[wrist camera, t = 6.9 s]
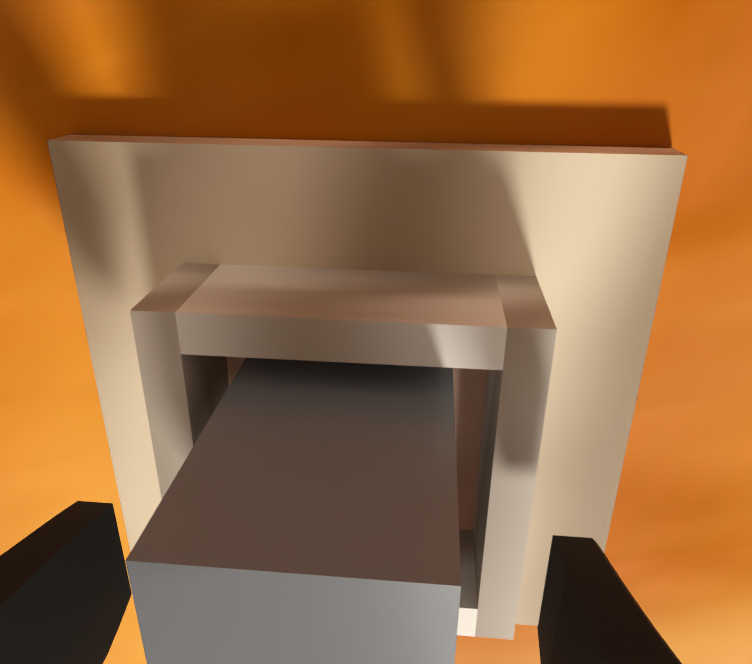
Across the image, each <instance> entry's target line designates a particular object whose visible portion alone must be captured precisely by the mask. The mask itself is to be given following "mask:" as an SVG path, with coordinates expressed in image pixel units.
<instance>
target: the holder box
mask: <svg viewBox="0 0 752 664" xmlns="http://www.w3.org/2000/svg"><path fill="white" fill-rule="evenodd" d="M47 142H48V147H49V152H50V157H51V162H52V167H53V172H54V177H55V182H56V187H57V192H58V197H59V202H60V207H61V211H62V216H63V221H64V226H65V231H66V236H67V241H68V246H69V251H70V256H71V261H72V266H73V271H74V275H75V280H76V285H77V290H78V295H79V300H80V305H81V310H82V315H83V320H84V325H85V330H86V335H87V340H88V344H89V349H90V354H91V359H92V364H93V369H94V374H95V379H96V384H97V389H98V394H99V399H100V404H101V409H102V413H103V418H104V423H105V428H106V433H107V438H108V443H109V448H110V453H111V458H112V463H113V468H114V473H115V477H116V482H117V487H118V492H119V497H120V502H121V507H122V512H123V517H124V522H125V527H126V532H127V537H128V542H129V546H130V551H132V549H133V547H134V546H135V544H136V542H137V541H138V539H139V537H140V535H141V534H142V532H143V530H144V529H145V527H146V525H147V524H148V522H149V520H150V519H151V517H152V515H153V514H154V512H155V510H156V508H157V507H158V505H159V503H160V502H161V500H162V498H163V497H164V495H165V493H166V492H167V490H168V488H169V487H170V485H171V483H172V482H173V480H174V478H175V476H176V475H177V473H178V471H179V470H180V468H181V466H182V465H183V463H184V461H185V460H186V458H187V456H188V455H189V453H190V451H191V449H192V448H193V446H194V444H195V443H196V441H197V439H198V438H199V436H200V434H201V433H202V431H203V429H204V428H205V426H206V424H207V422H208V421H209V419H210V417H211V416H212V414H213V412H214V411H215V409H216V407H217V406H218V404H219V402H220V401H221V399H222V397H223V396H224V394H225V392H226V390H227V389H228V387H229V385H230V384H231V382H232V380H233V379H234V377H235V375H236V374H237V372H238V370H239V369H240V367H241V365H242V363H243V362H244V360H245V358H266V359H286V360H306V361H326V362H346V363H366V364H386V365H406V366H426V367H446V368H453V383H454V409H455V436H456V463H457V490H458V516H459V543H460V570H461V593H460V605H459V616H458V627H457V635H463V636H475V637H487V638H499V639H511V640H513V637H514V630H515V624H522V625H534V626H538V622H539V616H540V610H541V604H542V598H543V591H544V585H545V579H546V573H547V567H548V561H549V555H550V549H551V542H552V536H553V535H558V536H572V537H586V538H593V539H594V540H595V541H596V542H597V544H598V545H599V546H600V548H601V549H602V551H603V553H604V552H605V547H606V542H607V537H608V533H609V528H610V523H611V518H612V514H613V509H614V504H615V499H616V495H617V490H618V485H619V480H620V476H621V471H622V466H623V461H624V456H625V452H626V447H627V442H628V437H629V433H630V428H631V423H632V418H633V414H634V409H635V404H636V399H637V395H638V390H639V385H640V380H641V376H642V371H643V366H644V361H645V357H646V352H647V347H648V342H649V338H650V333H651V328H652V323H653V318H654V314H655V309H656V304H657V299H658V295H659V290H660V285H661V280H662V276H663V271H664V266H665V261H666V257H667V252H668V247H669V242H670V238H671V233H672V228H673V223H674V219H675V214H676V209H677V204H678V199H679V195H680V190H681V185H682V180H683V176H684V171H685V166H686V161H687V157H688V155H686V154H684V153H682V152H680V151H678V150H676V149H674V148H643V147H600V146H556V145H512V144H468V143H424V142H381V141H337V140H293V139H249V138H205V137H162V136H118V135H74V134H68V135H65V136H61V137H57V138H54V139H50V140H47Z"/></svg>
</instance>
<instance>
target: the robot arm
mask: <svg viewBox="0 0 752 664" xmlns="http://www.w3.org/2000/svg"><path fill="white" fill-rule="evenodd" d="M131 594H132V593H131V589H130V584H129V579H128V575H127V570H126V565H125V560H124V556H123V551H122V546H121V541H120V537H119V532H118V527H117V522H116V518H115V513H114V508H113V504H112V503H98V502H84V501H77V502H76V503H74V504H72V505H71V506H69V507H68V508H66V509H65V510H63V511H62V512H61V513H59V514H58V515H56V516H55V517H53V518H52V519H51V520H49V521H48V522H46V523H45V524H44V525H42V526H41V527H39V528H38V529H37V530H35V531H34V532H33V533H31V534H30V535H28V536H27V537H26V538H24V539H23V540H21V541H20V542H19V543H17V544H16V545H15V546H13V547H12V548H10V549H9V550H8V551H6V552H5V553H4V554H2V555H1V556H0V664H103V662H104V660H105V658H106V656H107V654H108V652H109V649H110V647H111V645H112V642H113V640H114V637H115V635H116V633H117V630H118V628H119V625H120V623H121V620H122V617H123V615H124V612H125V610H126V607H127V604H128V602H129V599H130V597H131ZM538 637H539V648H540V659H541V664H682V663H681V662H680V661H679V659H678V658H677V657H676V655H675V654H674V653H673V651H672V650H671V649H670V647H669V646H668V645H667V643H666V642H665V641H664V639H663V638H662V637H661V635H660V634H659V633H658V631H657V630H656V629H655V627H654V626H653V624H652V623H651V622H650V620H649V619H648V618H647V616H646V615H645V613H644V612H643V610H642V609H641V608H640V606H639V605H638V603H637V602H636V600H635V599H634V598H633V596H632V595H631V593H630V592H629V590H628V589H627V587H626V586H625V584H624V583H623V581H622V580H621V578H620V577H619V575H618V574H617V572H616V571H615V569H614V568H613V566H612V565H611V563H610V562H609V560H608V559H607V557H606V556H605V554H604V553H603V551H602V549H601V548H600V546H599V545H598V544H597V542H596V541H595V540H594V539H593V538H586V537H572V536H558V535H553V536H552V542H551V549H550V555H549V561H548V567H547V573H546V579H545V585H544V591H543V598H542V604H541V610H540V616H539V622H538Z"/></svg>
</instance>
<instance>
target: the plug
mask: <svg viewBox="0 0 752 664" xmlns="http://www.w3.org/2000/svg"><path fill="white" fill-rule="evenodd" d="M126 565H127V570H128V575H129V579H130V584H131V589H132V594H133V599H134V603H135V608H136V613H137V618H138V623H139V627H140V632H141V637H142V642H143V647H144V651H145V656H146V661H147V664H454V661H455V650H456V639H457V627H458V616H459V605H460V593H461V570H460V543H459V516H458V490H457V463H456V436H455V409H454V383H453V368H446V367H426V366H406V365H386V364H366V363H346V362H326V361H306V360H286V359H266V358H245V360H244V362H243V363H242V365H241V367H240V369H239V370H238V372H237V374H236V375H235V377H234V379H233V380H232V382H231V384H230V385H229V387H228V389H227V390H226V392H225V394H224V396H223V397H222V399H221V401H220V402H219V404H218V406H217V407H216V409H215V411H214V412H213V414H212V416H211V417H210V419H209V421H208V422H207V424H206V426H205V428H204V429H203V431H202V433H201V434H200V436H199V438H198V439H197V441H196V443H195V444H194V446H193V448H192V449H191V451H190V453H189V455H188V456H187V458H186V460H185V461H184V463H183V465H182V466H181V468H180V470H179V471H178V473H177V475H176V476H175V478H174V480H173V482H172V483H171V485H170V487H169V488H168V490H167V492H166V493H165V495H164V497H163V498H162V500H161V502H160V503H159V505H158V507H157V508H156V510H155V512H154V514H153V515H152V517H151V519H150V520H149V522H148V524H147V525H146V527H145V529H144V530H143V532H142V534H141V535H140V537H139V539H138V541H137V542H136V544H135V546H134V547H133V549H132V551H131V552H130V554H129V556H128V557H127V559H126Z"/></svg>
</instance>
